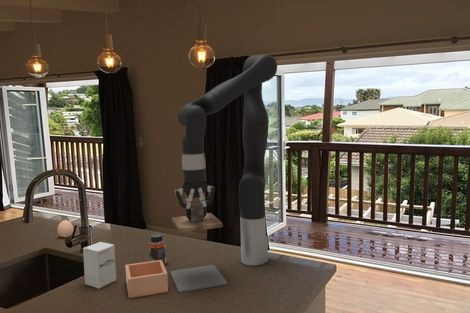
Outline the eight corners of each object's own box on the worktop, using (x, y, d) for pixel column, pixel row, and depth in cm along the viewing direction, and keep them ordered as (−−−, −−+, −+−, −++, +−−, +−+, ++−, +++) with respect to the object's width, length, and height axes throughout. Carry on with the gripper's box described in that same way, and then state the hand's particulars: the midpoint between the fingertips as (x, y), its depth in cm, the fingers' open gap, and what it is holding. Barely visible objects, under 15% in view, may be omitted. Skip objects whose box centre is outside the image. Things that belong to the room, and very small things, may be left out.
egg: (72, 238, 177) (71, 221, 176) (56, 240, 176) (55, 222, 175) (74, 234, 183) (73, 217, 182) (59, 235, 182) (58, 218, 181)
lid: (211, 216, 140) (210, 199, 139) (222, 227, 126) (222, 208, 126) (171, 220, 135) (170, 203, 134) (179, 232, 122) (178, 213, 121)
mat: (214, 266, 143) (214, 264, 143) (227, 284, 128) (227, 282, 128) (170, 272, 138) (170, 271, 138) (178, 292, 123) (178, 291, 123)
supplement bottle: (169, 263, 147) (168, 233, 146) (159, 269, 142) (158, 238, 140) (156, 260, 150) (154, 231, 148) (146, 266, 144) (144, 236, 143)
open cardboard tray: (162, 276, 135) (161, 259, 134) (168, 291, 124) (167, 273, 123) (126, 282, 131) (125, 264, 131) (128, 298, 120) (127, 279, 119)
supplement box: (99, 289, 127) (96, 251, 125) (84, 284, 131) (81, 247, 129) (117, 280, 133) (115, 244, 131) (102, 275, 137) (100, 240, 135)
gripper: (211, 164, 134) (213, 213, 136) (170, 167, 130) (172, 217, 132) (218, 167, 127) (220, 218, 129) (174, 170, 123) (177, 224, 125)
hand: (196, 218), depth 130 cm, fingers closed on lid, 4 cm apart
